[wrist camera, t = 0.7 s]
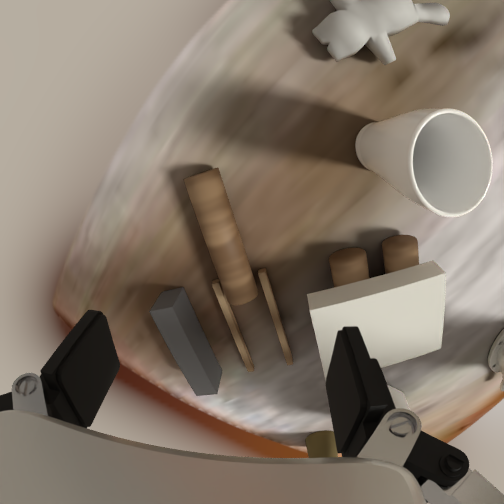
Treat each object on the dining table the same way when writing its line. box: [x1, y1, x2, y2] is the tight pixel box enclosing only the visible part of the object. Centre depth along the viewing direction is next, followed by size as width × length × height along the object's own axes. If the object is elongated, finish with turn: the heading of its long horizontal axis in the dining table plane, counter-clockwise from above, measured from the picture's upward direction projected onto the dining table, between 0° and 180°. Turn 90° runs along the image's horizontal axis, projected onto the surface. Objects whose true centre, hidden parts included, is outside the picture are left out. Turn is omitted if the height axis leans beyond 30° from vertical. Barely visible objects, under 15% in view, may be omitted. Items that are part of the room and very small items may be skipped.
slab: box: [307, 261, 446, 381], centre depth 29 cm, size 10×14×3 cm
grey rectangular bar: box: [149, 287, 222, 396], centre depth 36 cm, size 14×3×4 cm, turn 17°
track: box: [212, 235, 419, 372], centre depth 33 cm, size 14×23×4 cm, turn 107°
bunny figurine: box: [312, 0, 450, 65], centre depth 20 cm, size 10×5×15 cm
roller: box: [184, 168, 258, 305], centre depth 31 cm, size 14×4×4 cm, turn 17°
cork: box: [305, 431, 338, 458], centre depth 41 cm, size 6×6×11 cm
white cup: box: [355, 108, 493, 217], centre depth 21 cm, size 7×7×15 cm
